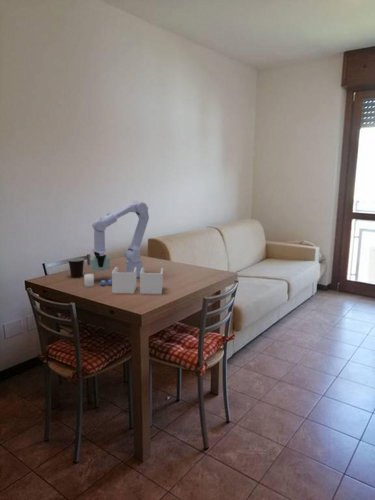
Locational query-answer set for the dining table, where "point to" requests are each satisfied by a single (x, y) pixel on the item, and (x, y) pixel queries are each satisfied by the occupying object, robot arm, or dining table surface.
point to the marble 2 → (110, 282)
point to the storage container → (127, 282)
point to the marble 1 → (103, 282)
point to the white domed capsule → (88, 280)
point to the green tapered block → (95, 266)
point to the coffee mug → (76, 267)
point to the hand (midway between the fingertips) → (100, 265)
